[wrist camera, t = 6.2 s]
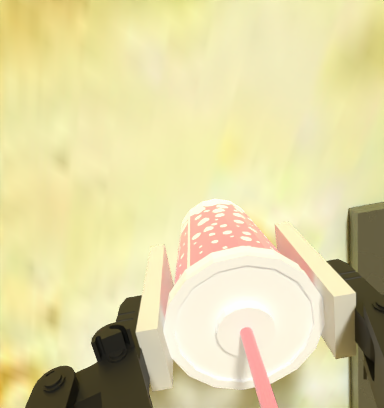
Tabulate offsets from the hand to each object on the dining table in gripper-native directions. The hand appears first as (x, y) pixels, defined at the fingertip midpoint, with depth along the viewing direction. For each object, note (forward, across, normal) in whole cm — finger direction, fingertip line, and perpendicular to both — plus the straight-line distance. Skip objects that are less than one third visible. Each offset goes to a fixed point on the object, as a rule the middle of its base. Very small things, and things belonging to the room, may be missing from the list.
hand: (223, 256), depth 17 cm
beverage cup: (+3, 0, 0) cm, 3 cm away
